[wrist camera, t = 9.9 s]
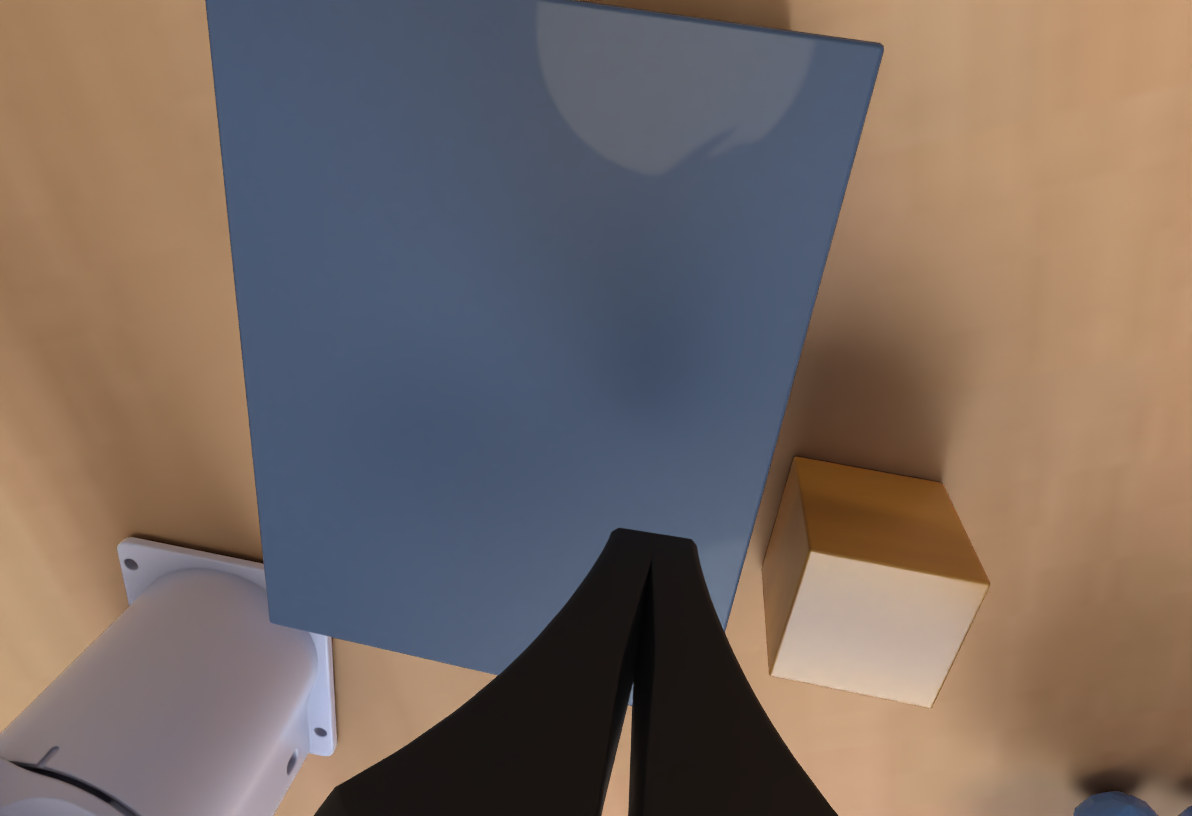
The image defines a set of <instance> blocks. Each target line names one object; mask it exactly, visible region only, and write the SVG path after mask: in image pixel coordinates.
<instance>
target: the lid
mask: <svg viewBox="0 0 1192 816" xmlns="http://www.w3.org/2000/svg"><path fill="white" fill-rule="evenodd" d="M205 1H206V10H207V20H208V30H209V39H210V49H211V59H212V68H213V78H214V88H215V97H216V107H217V117H218V126H219V136H220V146H221V155H222V165H223V175H224V185H225V194H226V204H227V214H228V223H229V233H230V243H231V252H232V262H233V272H234V281H235V291H236V301H237V310H238V320H239V330H240V339H241V349H242V359H243V368H244V378H245V388H246V398H247V407H248V417H249V427H250V436H251V446H252V456H253V465H254V475H255V485H256V494H257V504H258V514H259V523H260V533H261V543H262V552H263V562H264V572H265V581H266V591H267V601H268V611H269V620H270V622H271V623H272V624H276V625H281V626H285V627H290V628H294V629H298V630H303V631H307V632H311V633H316V634H320V635H324V636H329V637H333V638H337V639H342V640H346V641H351V642H355V643H359V644H364V645H368V646H372V647H377V648H381V649H385V650H390V651H394V652H399V653H403V654H407V655H412V656H416V657H420V658H425V659H429V660H433V661H438V662H442V663H446V664H451V665H455V666H460V667H464V668H468V669H473V670H477V671H481V672H486V673H490V674H494V675H499V674H500V673H501V672H503V671H504V670H505V669H506V668H507V667H508V666H509V665H510V664H511V663H512V662H513V661H514V660H515V659H516V658H517V657H518V656H519V655H520V654H521V653H522V652H523V651H524V650H525V649H526V648H527V647H528V646H529V645H530V644H531V643H532V642H533V641H534V640H535V639H536V638H537V637H538V636H539V634H540V633H541V632H542V631H543V630H544V629H545V628H546V626H547V625H548V624H549V623H550V622H551V621H552V619H553V618H554V617H555V616H556V615H557V614H558V613H559V611H560V610H561V609H562V608H563V607H564V605H565V604H566V603H567V602H568V600H569V599H570V598H571V596H572V595H573V594H574V592H575V591H576V590H577V588H578V587H579V585H580V584H581V583H582V581H583V580H584V579H585V577H586V576H587V575H588V573H589V571H590V570H591V568H592V567H593V565H594V564H595V562H596V561H597V559H598V557H599V556H600V554H601V552H602V551H603V549H604V547H605V545H606V543H607V541H608V539H609V536H610V534H611V532H612V531H614V530H615V529H617V528H626V529H632V530H638V531H644V532H651V533H657V534H663V535H670V536H676V537H682V538H688V539H692V540H693V541H694V543H695V544H696V545H697V549H698V555H699V560H700V564H701V568H702V572H703V575H704V578H705V582H706V585H707V588H708V591H709V594H710V597H711V600H712V602H713V605H714V608H715V610H716V613H717V615H718V618H719V620H720V623H721V625H722V627H723V630H724V632H725V630H726V626H727V623H728V619H729V615H730V612H731V608H732V604H733V601H734V597H735V593H736V590H737V586H738V582H739V579H740V575H741V571H742V568H743V564H744V560H745V557H746V553H747V549H748V546H749V542H750V538H751V535H752V531H753V527H754V524H755V520H756V517H757V513H758V509H759V506H760V502H761V498H762V495H763V491H764V487H765V484H766V480H767V476H768V473H769V469H770V465H771V462H772V458H773V454H774V451H775V447H776V443H777V440H778V436H779V432H780V429H781V425H782V421H783V418H784V414H785V410H786V407H787V403H788V400H789V396H790V392H791V389H792V385H793V381H794V378H795V374H796V370H797V367H798V363H799V359H800V356H801V352H802V348H803V345H804V341H805V337H806V334H807V330H808V326H809V323H810V319H811V315H812V312H813V308H814V304H815V301H816V297H817V294H818V290H819V286H820V283H821V279H822V275H823V272H824V268H825V264H826V261H827V257H828V253H829V250H830V246H831V242H832V239H833V235H834V231H835V228H836V224H837V220H838V217H839V213H840V209H841V206H842V202H843V198H844V195H845V191H846V187H847V184H848V180H849V177H850V173H851V169H852V166H853V162H854V158H855V155H856V151H857V147H858V144H859V140H860V136H861V133H862V129H863V125H864V122H865V118H866V114H867V111H868V107H869V103H870V100H871V96H872V92H873V89H874V85H875V81H876V78H877V74H878V70H879V67H880V63H881V60H882V56H883V52H884V46H883V45H882V44H880V43H876V42H869V41H862V40H855V39H848V38H840V37H833V36H826V35H819V34H812V33H805V32H798V31H791V30H783V29H776V28H769V27H762V26H755V25H748V24H741V23H734V22H726V21H719V20H712V19H705V18H698V17H691V16H684V15H677V14H670V13H662V12H655V11H648V10H641V9H634V8H627V7H620V6H613V5H605V4H598V3H591V2H584V1H577V0H205ZM632 703H633V685H632V689H631V694H630V698H629V702H628V705H630V706H632Z"/></svg>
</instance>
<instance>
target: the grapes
mask: <svg viewBox="0 0 1192 816" xmlns="http://www.w3.org/2000/svg"><path fill="white" fill-rule="evenodd" d="M1073 816H1158V815H1157V814H1156V813H1155V811H1154V810H1153V809H1152V808H1151V807H1150V806H1149V805H1148V804H1147V803H1146V802H1145V801H1143V800H1140V799H1138V798H1136V797H1134V796H1132V795H1129V794H1126V793H1122V792H1119V791H1111V792H1105V793H1099V794H1095V795H1091V796H1089V797H1088V798H1087V799H1086V800H1085V801H1083V802H1082V803H1081V804H1080V805H1079V806H1077V807H1076V808H1075V811H1074V815H1073ZM1178 816H1192V806H1190V807H1188V808H1187V809H1185V810H1184V811H1183V812H1182V813H1181V814H1179V815H1178Z"/></svg>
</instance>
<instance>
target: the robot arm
mask: <svg viewBox="0 0 1192 816" xmlns="http://www.w3.org/2000/svg"><path fill="white" fill-rule="evenodd" d="M117 552H118V556H119V561H120V565H121V570H122V575H123V579H124V584H125V589H126V593H127V598H128V602H129V607H128V608H127V609H126V610H125V611H124V612H123V613H122V614H121V615H120V616H119V617H118V618H117V619H116V620H115V621H114V622H113V623H112V624H111V625H110V626H109V627H108V628H107V629H106V630H105V631H104V632H103V633H102V634H101V635H100V636H99V637H98V638H97V639H96V640H95V641H94V642H93V643H92V644H91V645H90V646H88V647H87V648H86V649H85V650H84V651H83V652H82V653H81V654H80V655H79V656H78V657H77V658H76V659H75V660H74V661H73V662H72V663H71V664H70V665H69V666H68V667H67V668H66V669H65V670H64V671H63V672H62V673H61V674H60V675H59V676H58V677H57V678H56V679H55V680H54V681H53V682H52V683H51V684H50V685H49V686H48V687H47V688H46V689H45V690H44V691H43V692H42V693H41V694H40V695H39V696H38V697H37V698H36V699H35V700H34V701H33V702H32V703H31V704H30V705H29V706H28V707H27V708H26V709H25V710H24V711H23V712H22V713H21V714H20V715H18V716H17V717H16V718H15V719H14V720H13V721H12V722H11V723H10V724H9V725H8V726H7V727H6V728H5V729H4V730H3V731H2V732H1V733H0V816H273V815H274V813H275V812H276V810H277V808H278V806H279V805H280V803H281V801H282V799H283V798H284V796H285V794H286V792H287V791H288V789H289V787H290V785H291V783H292V782H293V780H294V778H295V776H296V775H297V773H298V771H299V769H300V768H301V766H302V764H303V762H304V760H305V759H306V757H307V755H308V753H312V754H316V755H321V756H329V755H331V754H333V752H334V750H335V749H336V746H337V733H336V714H335V695H334V676H333V657H332V638H331V637H329V636H324V635H320V634H316V633H311V632H307V631H303V630H298V629H294V628H290V627H285V626H281V625H276V624H272V623H271V622H270V620H269V611H268V601H267V591H266V581H265V572H264V564H263V563H258V562H253V561H248V560H243V559H238V558H233V557H228V556H223V555H218V554H214V553H209V552H204V551H199V550H194V549H189V548H184V547H179V546H174V545H169V544H164V543H159V542H154V541H149V540H144V539H139V538H135V537H128V538H125V539H124V540H123V541H122V542H121V543H119V545H118V546H117ZM632 685H633V703H632V729H631V757H630V785H629V811H628V816H838V815H837V813H836V812H835V811H834V810H833V809H832V807H831V806H830V805H829V803H828V802H827V801H826V799H825V798H824V797H823V795H822V794H821V793H820V791H819V790H818V789H817V787H816V786H815V784H814V783H813V782H812V780H811V779H810V778H809V776H808V775H807V774H806V772H805V771H804V770H803V768H802V767H801V766H800V764H799V763H798V762H797V760H796V759H795V758H794V756H793V755H792V753H791V752H790V750H789V749H788V747H787V746H786V744H785V743H784V741H783V740H782V738H781V737H780V735H779V733H778V732H777V730H776V729H775V727H774V726H773V724H772V723H771V721H770V719H769V718H768V716H767V714H766V713H765V711H764V709H763V708H762V706H761V704H760V703H759V701H758V699H757V697H756V695H755V694H754V692H753V690H752V688H751V686H750V684H749V683H748V681H747V679H746V677H745V675H744V673H743V671H742V669H741V667H740V665H739V663H738V661H737V659H736V657H735V655H734V653H733V650H732V648H731V646H730V644H729V642H728V639H727V637H726V635H725V632H724V630H723V627H722V625H721V623H720V620H719V618H718V615H717V613H716V610H715V608H714V605H713V602H712V600H711V597H710V594H709V591H708V588H707V585H706V582H705V578H704V575H703V572H702V568H701V564H700V560H699V555H698V549H697V545H696V544H695V543H694V541H693V540H692V539H688V538H682V537H676V536H670V535H663V534H657V533H651V532H644V531H638V530H632V529H626V528H617V529H615V530H614V531H612V532H611V534H610V536H609V539H608V541H607V543H606V545H605V547H604V549H603V551H602V552H601V554H600V556H599V557H598V559H597V561H596V562H595V564H594V565H593V567H592V568H591V570H590V571H589V573H588V575H587V576H586V577H585V579H584V580H583V581H582V583H581V584H580V585H579V587H578V588H577V590H576V591H575V592H574V594H573V595H572V596H571V598H570V599H569V600H568V602H567V603H566V604H565V605H564V607H563V608H562V609H561V610H560V611H559V613H558V614H557V615H556V616H555V617H554V618H553V619H552V621H551V622H550V623H549V624H548V625H547V626H546V628H545V629H544V630H543V631H542V632H541V633H540V634H539V636H538V637H537V638H536V639H535V640H534V641H533V642H532V643H531V644H530V645H529V646H528V647H527V648H526V649H525V650H524V651H523V652H522V653H521V654H520V655H519V656H518V657H517V658H516V659H515V660H514V661H513V662H512V663H511V664H510V665H509V666H508V667H507V668H506V669H505V670H504V671H503V672H501V673H500V674H499V675H498V676H497V677H496V678H495V679H493V680H492V681H491V682H490V683H489V684H488V685H486V686H485V687H484V688H483V689H482V690H481V691H479V692H478V693H477V694H476V695H475V696H474V697H472V698H471V699H470V700H469V701H467V702H466V703H465V704H464V705H462V706H461V707H460V708H458V709H457V710H456V711H455V712H453V713H452V714H450V715H449V716H448V717H446V718H445V719H443V720H442V721H441V722H439V723H438V724H436V725H435V726H433V727H432V728H431V729H429V730H428V731H426V732H425V733H423V734H422V735H421V736H419V737H418V738H416V739H415V740H413V741H412V742H411V743H409V744H408V745H406V746H405V747H403V748H401V749H400V750H398V751H397V752H395V753H393V754H392V755H390V756H388V757H387V758H385V759H383V760H381V761H380V762H378V763H376V764H375V765H373V766H371V767H369V768H368V769H366V770H364V771H363V772H361V773H359V774H357V775H356V776H354V777H352V778H351V779H349V780H347V781H345V782H344V783H342V784H340V785H338V786H336V787H335V788H334V789H333V791H332V792H331V793H330V794H329V796H328V797H327V798H326V800H325V801H324V802H323V804H322V805H321V807H320V808H319V809H318V811H317V812H316V813H315V815H314V816H601V815H602V810H603V805H604V801H605V797H606V792H607V788H608V784H609V780H610V776H611V772H612V768H613V764H614V760H615V755H616V751H617V747H618V743H619V739H620V735H621V731H622V727H623V723H624V718H625V714H626V710H627V706H628V702H629V698H630V694H631V689H632Z"/></svg>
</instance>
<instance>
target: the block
mask: <svg viewBox="0 0 1192 816" xmlns="http://www.w3.org/2000/svg"><path fill="white" fill-rule="evenodd" d="M762 581H763V595H764V610H765V624H766V638H767V652H768V666H769V675H770V676H773V677H778V678H783V679H788V680H793V681H798V682H803V683H808V684H812V685H817V686H822V687H827V688H832V689H837V690H842V691H847V692H852V693H857V694H862V695H867V696H871V697H876V698H881V699H886V700H891V701H896V702H901V703H906V704H911V705H916V706H921V707H926V708H932V706H933V704H934V702H935V700H936V698H937V696H938V694H939V692H940V690H941V688H942V685H943V683H944V681H945V679H946V677H947V675H948V673H949V671H950V669H951V666H952V664H953V662H954V660H955V658H956V656H957V654H958V652H959V650H960V648H961V645H962V643H963V641H964V639H965V637H966V635H967V633H968V631H969V629H970V626H971V624H972V622H973V620H974V618H975V616H976V614H977V612H978V610H979V608H980V605H981V603H982V601H983V599H984V597H985V595H986V593H987V591H988V589H989V587H990V582H989V579H988V577H987V575H986V573H985V571H984V569H983V567H982V565H981V563H980V561H979V558H978V556H977V554H976V552H975V550H974V548H973V546H972V544H971V542H970V539H969V537H968V535H967V533H966V531H965V529H964V527H963V525H962V523H961V521H960V518H959V516H958V514H957V512H956V510H955V508H954V506H953V504H952V502H951V500H950V497H949V495H948V493H947V491H946V489H945V487H944V485H943V484H942V483H939V482H934V481H928V480H923V479H917V478H912V477H906V476H901V475H895V474H890V473H884V472H879V471H873V470H868V469H862V468H857V467H851V466H846V465H840V464H835V463H829V462H824V461H818V460H813V459H807V458H802V457H794V459H793V462H792V466H791V469H790V473H789V476H788V480H787V483H786V487H785V490H784V493H783V497H782V500H781V504H780V507H779V511H778V514H777V518H776V521H775V525H774V528H773V532H772V535H771V538H770V542H769V545H768V549H767V552H766V556H765V559H764V563H763V566H762Z"/></svg>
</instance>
